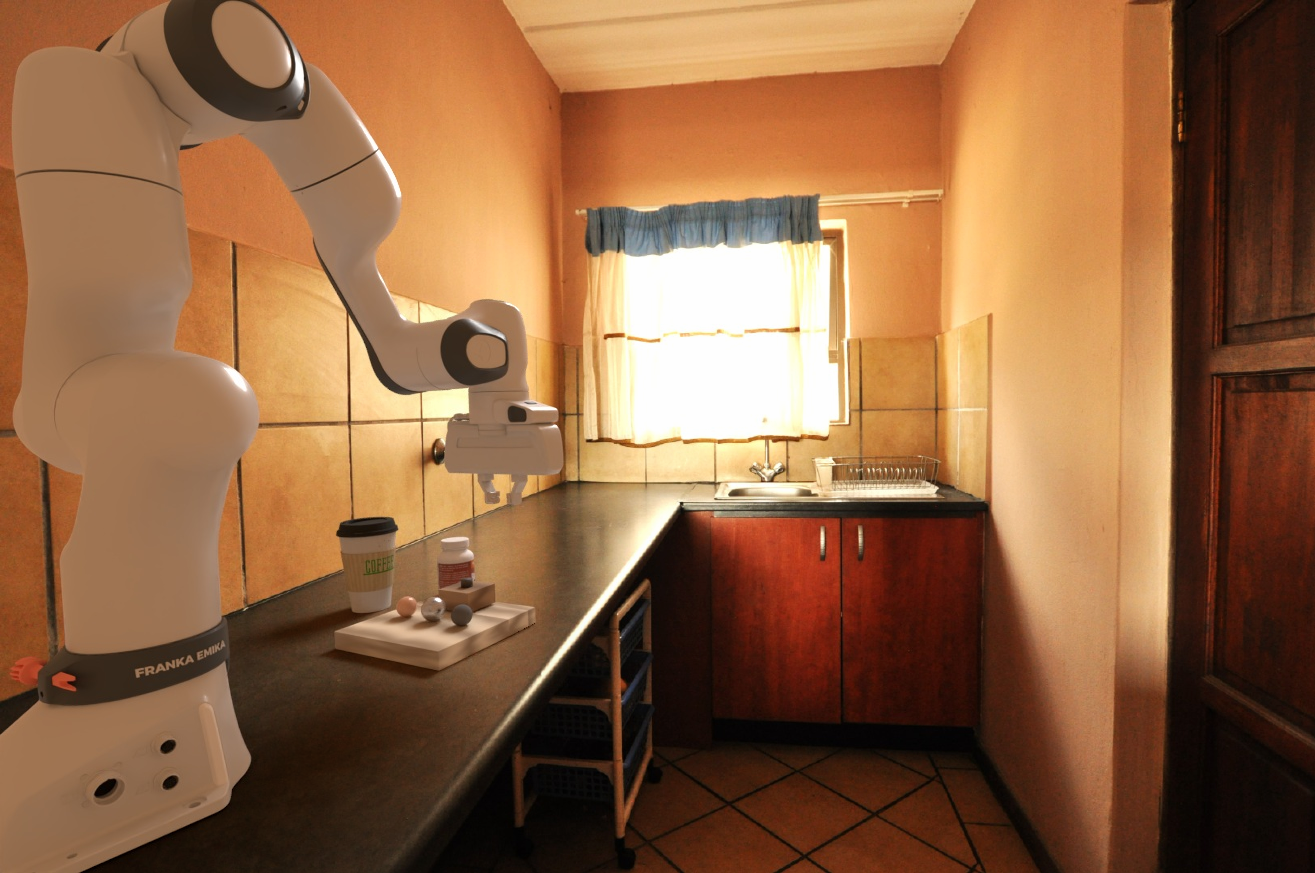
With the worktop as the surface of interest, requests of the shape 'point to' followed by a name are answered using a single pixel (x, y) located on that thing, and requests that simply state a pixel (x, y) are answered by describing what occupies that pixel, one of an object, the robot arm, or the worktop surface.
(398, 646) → the board
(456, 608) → the black rubber ball
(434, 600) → the steel ball
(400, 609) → the terracotta ball
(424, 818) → the worktop surface
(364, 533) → the coffee cup
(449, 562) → the pill bottle
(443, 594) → the cover
